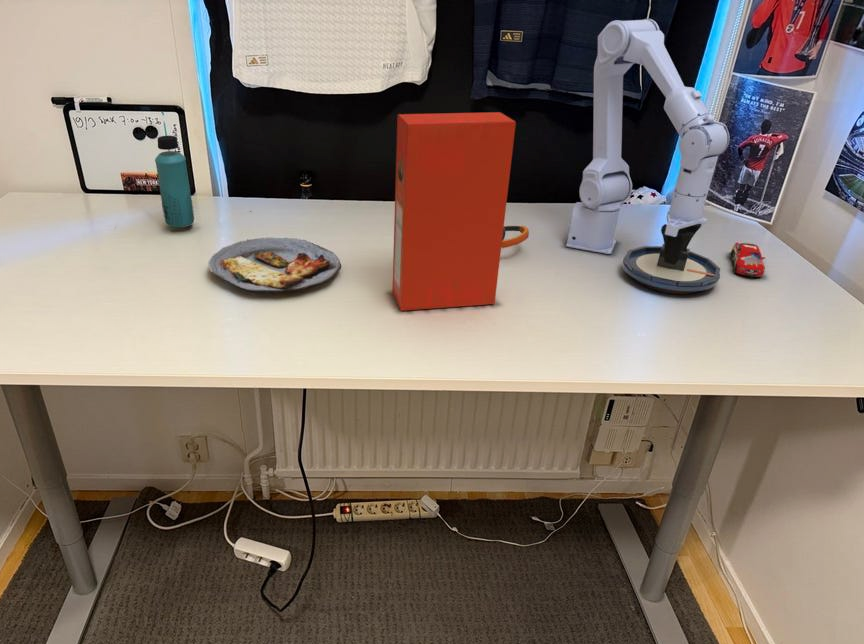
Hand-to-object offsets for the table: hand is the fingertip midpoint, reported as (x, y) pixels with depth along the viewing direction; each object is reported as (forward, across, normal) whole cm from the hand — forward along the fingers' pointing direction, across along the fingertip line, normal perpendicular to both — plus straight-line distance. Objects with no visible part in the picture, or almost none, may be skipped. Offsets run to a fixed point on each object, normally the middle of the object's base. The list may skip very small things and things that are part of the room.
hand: (672, 260), depth 132 cm
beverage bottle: (+4, -44, +93) cm, 103 cm away
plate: (+2, 0, 0) cm, 2 cm away
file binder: (+4, -36, +30) cm, 47 cm away
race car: (+4, +17, -10) cm, 20 cm away
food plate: (+4, -47, +61) cm, 77 cm away
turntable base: (+4, 0, 0) cm, 4 cm away
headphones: (+4, -10, +37) cm, 38 cm away
